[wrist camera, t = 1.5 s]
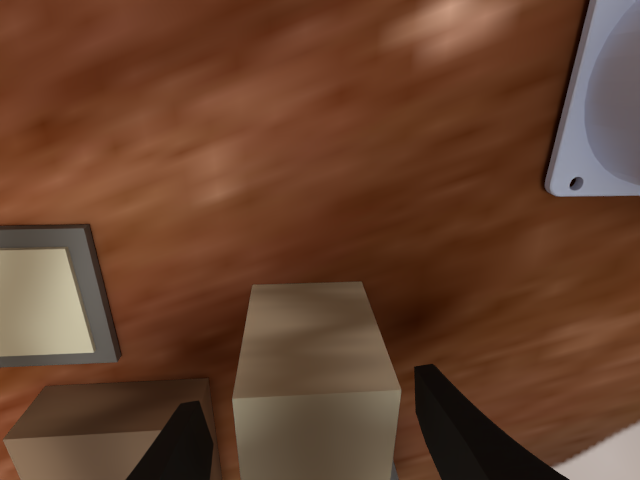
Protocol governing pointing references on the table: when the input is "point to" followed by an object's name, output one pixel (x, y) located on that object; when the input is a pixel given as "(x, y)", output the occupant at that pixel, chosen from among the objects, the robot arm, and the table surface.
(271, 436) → the maple block
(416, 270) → the table surface
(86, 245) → the swatch tile
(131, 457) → the walnut block
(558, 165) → the robot arm
